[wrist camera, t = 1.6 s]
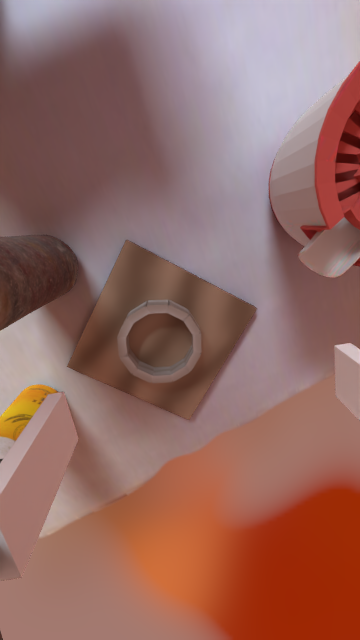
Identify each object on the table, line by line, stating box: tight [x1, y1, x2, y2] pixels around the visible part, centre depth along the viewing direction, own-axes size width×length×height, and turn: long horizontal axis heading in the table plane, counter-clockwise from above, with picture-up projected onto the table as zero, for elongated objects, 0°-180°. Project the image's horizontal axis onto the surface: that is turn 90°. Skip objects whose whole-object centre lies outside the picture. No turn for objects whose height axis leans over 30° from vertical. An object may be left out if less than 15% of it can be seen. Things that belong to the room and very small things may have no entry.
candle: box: [0, 235, 78, 330], centre depth 29 cm, size 8×7×20 cm
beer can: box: [0, 385, 58, 459], centre depth 37 cm, size 6×6×15 cm
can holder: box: [67, 240, 257, 420], centre depth 40 cm, size 18×18×4 cm
